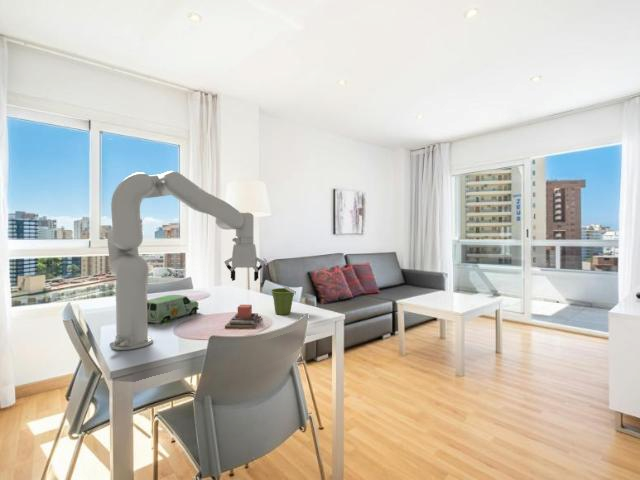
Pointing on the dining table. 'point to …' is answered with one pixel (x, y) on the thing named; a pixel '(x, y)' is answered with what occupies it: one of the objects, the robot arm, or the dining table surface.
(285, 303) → the plant pot
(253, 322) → the board
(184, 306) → the toy car
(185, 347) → the dining table surface
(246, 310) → the red block
